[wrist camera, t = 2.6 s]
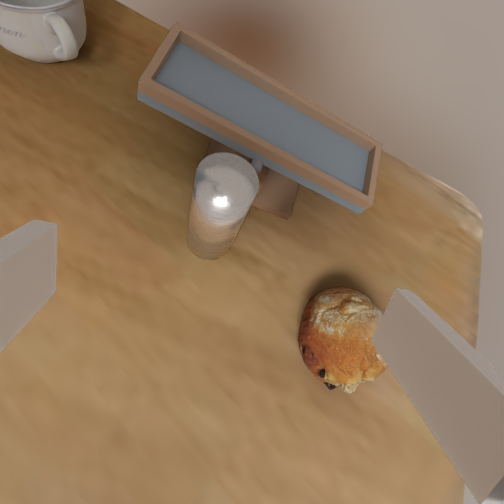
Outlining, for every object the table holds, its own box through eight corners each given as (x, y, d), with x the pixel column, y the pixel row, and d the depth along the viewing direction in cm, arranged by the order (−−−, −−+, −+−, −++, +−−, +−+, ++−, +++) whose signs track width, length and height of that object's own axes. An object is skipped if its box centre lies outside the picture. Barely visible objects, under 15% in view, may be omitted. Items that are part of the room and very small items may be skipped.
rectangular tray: (132, 111, 31) (133, 87, 28) (174, 41, 36) (179, 15, 33) (353, 223, 37) (371, 212, 35) (366, 151, 42) (383, 137, 39)
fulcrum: (193, 183, 38) (197, 157, 34) (225, 112, 43) (232, 80, 38) (287, 219, 39) (303, 199, 35) (307, 146, 44) (323, 120, 40)
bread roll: (366, 343, 40) (415, 310, 35) (356, 419, 32) (418, 390, 27) (301, 297, 40) (341, 257, 35) (275, 362, 32) (321, 322, 27)
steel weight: (179, 250, 35) (185, 192, 24) (195, 212, 37) (208, 143, 26) (223, 266, 35) (248, 217, 25) (236, 227, 37) (265, 166, 27)
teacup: (-17, 16, 39) (-58, -65, 32) (77, 8, 43) (60, -66, 36) (19, 105, 36) (-18, 37, 29) (117, 87, 40) (106, 24, 33)
